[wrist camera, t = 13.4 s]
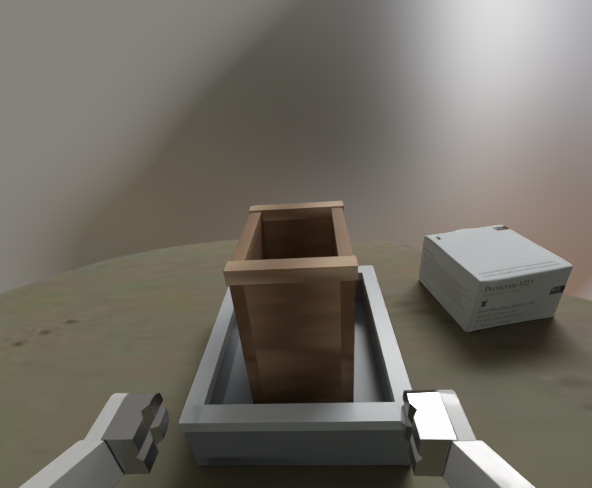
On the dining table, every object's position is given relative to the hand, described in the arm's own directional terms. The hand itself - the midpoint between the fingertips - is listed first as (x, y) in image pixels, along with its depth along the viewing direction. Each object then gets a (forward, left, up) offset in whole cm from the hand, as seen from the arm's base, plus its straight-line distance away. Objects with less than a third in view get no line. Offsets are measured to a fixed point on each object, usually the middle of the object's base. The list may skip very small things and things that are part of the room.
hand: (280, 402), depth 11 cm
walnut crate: (-5, -8, -8) cm, 13 cm away
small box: (-22, -6, -9) cm, 25 cm away
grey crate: (-5, -8, -9) cm, 13 cm away
